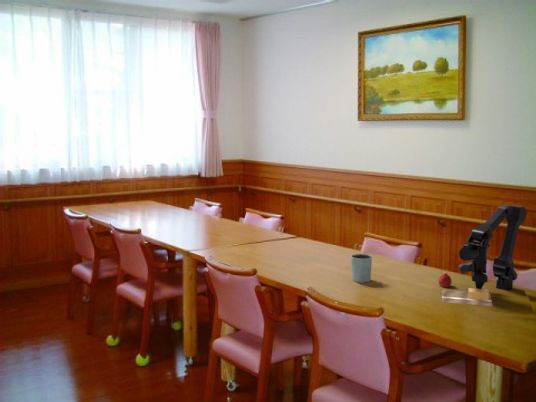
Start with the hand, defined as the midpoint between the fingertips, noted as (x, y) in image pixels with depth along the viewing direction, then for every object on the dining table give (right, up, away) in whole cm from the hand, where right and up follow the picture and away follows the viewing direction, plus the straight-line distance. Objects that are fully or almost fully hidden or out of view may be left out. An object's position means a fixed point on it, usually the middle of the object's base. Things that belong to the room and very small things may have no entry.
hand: (477, 292), depth 257 cm
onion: (-10, -1, +14) cm, 17 cm away
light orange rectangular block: (-1, -2, -4) cm, 4 cm away
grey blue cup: (-47, +1, +29) cm, 55 cm away
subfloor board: (-7, -3, -4) cm, 8 cm away
